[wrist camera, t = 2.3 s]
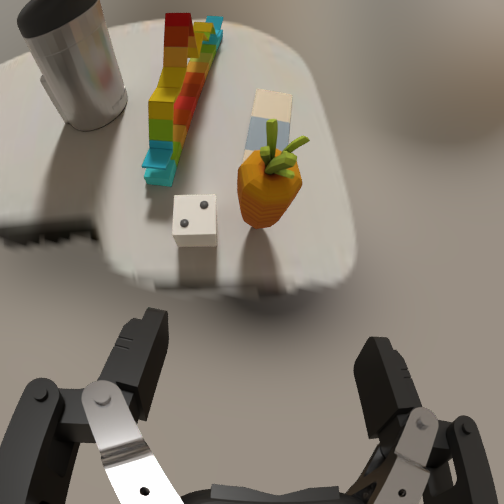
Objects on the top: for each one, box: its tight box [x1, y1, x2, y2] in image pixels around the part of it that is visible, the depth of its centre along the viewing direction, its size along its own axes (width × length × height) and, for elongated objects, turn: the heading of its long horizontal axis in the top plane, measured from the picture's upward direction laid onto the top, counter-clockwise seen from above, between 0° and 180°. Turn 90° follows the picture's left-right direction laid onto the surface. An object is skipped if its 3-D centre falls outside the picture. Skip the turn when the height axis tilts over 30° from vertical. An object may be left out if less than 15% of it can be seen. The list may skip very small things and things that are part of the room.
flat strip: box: [243, 89, 292, 162], centre depth 35 cm, size 5×16×1 cm, turn 173°
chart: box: [142, 13, 223, 187], centre depth 29 cm, size 30×3×15 cm, turn 173°
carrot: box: [237, 119, 310, 229], centre depth 24 cm, size 5×5×15 cm
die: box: [172, 194, 217, 247], centre depth 29 cm, size 4×4×4 cm
